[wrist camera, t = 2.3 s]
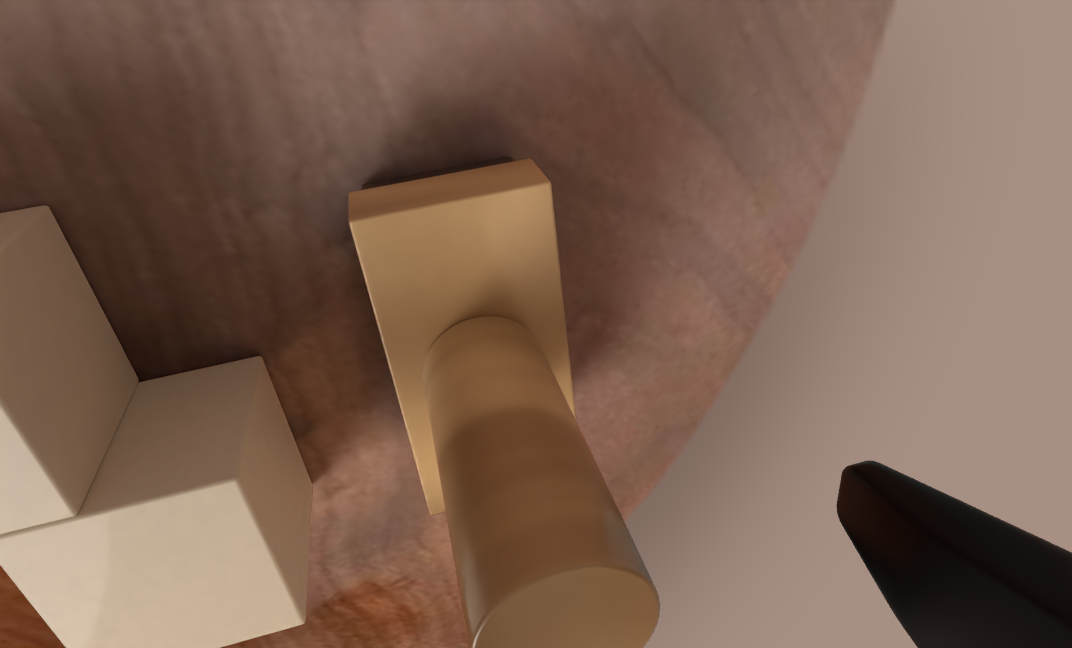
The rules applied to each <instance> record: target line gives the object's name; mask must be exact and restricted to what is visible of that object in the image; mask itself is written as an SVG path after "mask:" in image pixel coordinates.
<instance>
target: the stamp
mask: <svg viewBox="0 0 1072 648" xmlns="http://www.w3.org/2000/svg"><path fill="white" fill-rule="evenodd" d="M348 199H349V225H350V229H351V232H352V236H353V240H354V243H355V247H356V250H357V254H358V258H359V261H360V265H361V268H362V272H363V276H364V279H365V283H366V286H367V290H368V294H369V297H370V301H371V304H372V308H373V312H374V315H375V319H376V322H377V326H378V330H379V333H380V337H381V340H382V344H383V348H384V351H385V355H386V358H387V362H388V366H389V369H390V373H391V376H392V380H393V384H394V387H395V391H396V394H397V398H398V402H399V405H400V409H401V412H402V416H403V420H404V423H405V427H406V430H407V434H408V438H409V441H410V445H411V448H412V452H413V456H414V459H415V463H416V466H417V470H418V474H419V477H420V481H421V484H422V488H423V492H424V495H425V499H426V502H427V506H428V510H429V513H430V514H431V515H435V514H438V513H442V512H446V516H447V522H448V528H449V534H450V539H451V545H452V551H453V556H454V562H455V568H456V574H457V579H458V585H459V591H460V596H461V602H462V608H463V614H464V619H465V625H466V631H467V637H468V642H469V648H643V647H644V646H645V644H646V643H647V642H648V641H649V639H650V637H651V636H652V633H653V632H654V630H655V627H656V625H657V622H658V618H659V610H660V603H659V596H658V593H657V591H656V588H655V586H654V584H653V582H652V580H651V578H650V576H649V573H648V571H647V569H646V567H645V565H644V563H643V561H642V559H641V557H640V554H639V552H638V550H637V548H636V546H635V544H634V542H633V540H632V538H631V535H630V533H629V531H628V529H627V527H626V525H625V523H624V521H623V519H622V516H621V514H620V512H619V510H618V508H617V506H616V504H615V502H614V500H613V497H612V495H611V493H610V491H609V489H608V487H607V485H606V483H605V481H604V478H603V476H602V474H601V472H600V470H599V468H598V466H597V464H596V462H595V460H594V457H593V455H592V453H591V451H590V449H589V447H588V445H587V443H586V441H585V438H584V436H583V434H582V432H581V430H580V428H579V426H578V424H577V422H576V414H575V404H574V395H573V385H572V376H571V366H570V357H569V348H568V338H567V329H566V319H565V310H564V301H563V291H562V282H561V272H560V263H559V253H558V244H557V235H556V225H555V216H554V206H553V197H552V188H551V182H550V181H549V180H548V178H547V177H546V176H545V175H544V174H543V172H542V171H541V170H540V169H539V168H538V166H537V165H536V164H535V163H534V162H533V160H532V159H530V158H529V159H524V160H519V161H514V160H513V159H512V158H511V157H506V158H500V159H495V160H490V161H484V162H479V163H474V164H468V165H463V166H458V167H452V168H447V169H442V170H437V171H431V172H426V173H421V174H415V175H410V176H405V177H399V178H394V179H389V180H383V181H378V182H373V183H367V184H364V185H363V186H362V190H360V191H355V192H350V193H349V195H348Z"/></svg>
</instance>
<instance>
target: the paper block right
mask: <svg viewBox="0 0 1072 648" xmlns="http://www.w3.org/2000/svg"><path fill="white" fill-rule="evenodd" d="M312 495H313V485H312V483H311V480H310V478H309V475H308V473H307V470H306V467H305V465H304V462H303V460H302V457H301V455H300V452H299V450H298V447H297V445H296V442H295V440H294V437H293V434H292V432H291V429H290V427H289V424H288V422H287V419H286V417H285V414H284V412H283V409H282V407H281V404H280V401H279V399H278V396H277V394H276V391H275V389H274V386H273V384H272V381H271V379H270V376H269V374H268V371H267V368H266V366H265V363H264V361H263V358H262V357H261V356H256V357H252V358H247V359H243V360H238V361H234V362H229V363H224V364H220V365H215V366H211V367H206V368H202V369H197V370H193V371H188V372H184V373H179V374H175V375H170V376H165V377H161V378H156V379H152V380H147V381H143V382H138V384H137V386H136V388H135V391H134V393H133V395H132V397H131V399H130V402H129V404H128V406H127V408H126V410H125V412H124V415H123V417H122V419H121V421H120V423H119V426H118V428H117V430H116V432H115V434H114V436H113V439H112V441H111V443H110V445H109V447H108V450H107V452H106V454H105V456H104V458H103V460H102V463H101V465H100V467H99V469H98V471H97V474H96V476H95V478H94V480H93V482H92V484H91V487H90V489H89V491H88V493H87V495H86V498H85V500H84V502H83V504H82V506H81V508H80V511H79V513H78V514H77V515H75V516H74V517H70V518H66V519H62V520H57V521H53V522H49V523H45V524H41V525H37V526H33V527H29V528H25V529H21V530H17V531H12V532H8V533H4V534H0V565H1V566H2V568H3V569H4V570H5V571H6V573H7V574H8V575H9V577H10V578H11V579H12V580H13V582H14V583H15V584H16V585H17V587H18V588H19V589H20V590H21V592H22V593H23V594H24V595H25V597H26V598H27V599H28V600H29V602H30V603H31V604H32V606H33V607H34V608H35V609H36V611H37V612H38V613H39V614H40V616H41V617H42V618H43V619H44V621H45V622H46V623H47V624H48V626H49V627H50V628H51V629H52V631H53V632H54V633H55V634H56V636H57V637H58V638H59V640H60V641H61V642H62V643H63V645H64V646H65V647H66V648H220V647H223V646H227V645H231V644H234V643H238V642H241V641H245V640H248V639H252V638H256V637H259V636H263V635H266V634H270V633H273V632H277V631H281V630H284V629H288V628H291V627H295V626H299V625H302V624H304V623H305V618H306V600H307V582H308V565H309V547H310V530H311V512H312Z"/></svg>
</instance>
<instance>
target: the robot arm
mask: <svg viewBox="0 0 1072 648" xmlns="http://www.w3.org/2000/svg"><path fill="white" fill-rule="evenodd" d="M837 513H838V517H839V519H840V522H841V524H842V526H843V527H844V529H845V531H846V532H847V534H848V536H849V537H850V539H851V541H852V542H853V544H854V546H855V548H856V549H857V551H858V553H859V555H860V556H861V558H862V560H863V562H864V563H865V565H866V567H867V568H868V570H869V572H870V574H871V575H872V577H873V579H874V580H875V582H876V584H877V586H878V587H879V589H880V591H881V592H882V594H883V596H884V597H885V599H886V601H887V603H888V604H889V606H890V608H891V609H892V611H893V612H894V614H895V616H896V617H897V619H898V620H899V621H900V623H901V624H902V626H903V627H904V629H905V630H906V632H907V633H908V635H909V636H910V637H911V639H912V640H913V642H914V643H915V644H916V646H917V647H918V648H1072V553H1071V552H1069V551H1067V550H1065V549H1063V548H1060V547H1059V546H1056V545H1054V544H1052V543H1050V542H1048V541H1046V540H1044V539H1041V538H1039V537H1037V536H1035V535H1033V534H1031V533H1028V532H1026V531H1024V530H1022V529H1020V528H1018V527H1016V526H1013V525H1011V524H1009V523H1007V522H1005V521H1003V520H1001V519H999V518H996V517H994V516H992V515H990V514H988V513H986V512H983V511H981V510H979V509H977V508H975V507H973V506H971V505H968V504H966V503H964V502H962V501H960V500H958V499H955V498H953V497H951V496H949V495H947V494H945V493H943V492H940V491H938V490H936V489H934V488H932V487H930V486H927V485H926V484H923V483H921V482H919V481H917V480H915V479H913V478H911V477H908V476H906V475H904V474H902V473H900V472H898V471H895V470H893V469H891V468H889V467H887V466H885V465H883V464H880V463H878V462H875V461H864V462H861V463H857V464H853V465H850V466H847V467H846V468H845V469H844V470H843V472H842V476H841V483H840V489H839V494H838V501H837Z"/></svg>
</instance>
